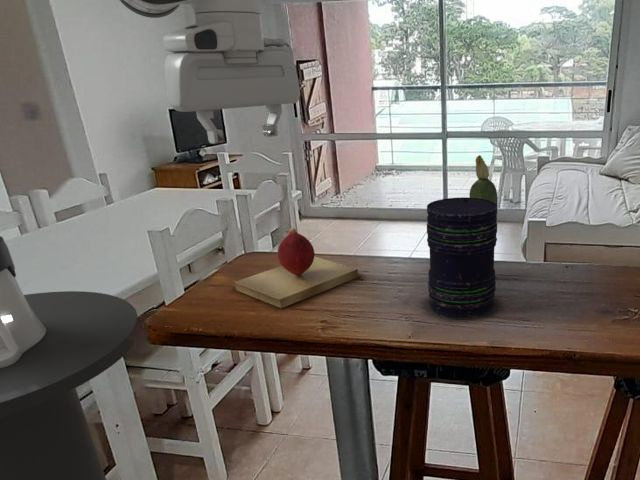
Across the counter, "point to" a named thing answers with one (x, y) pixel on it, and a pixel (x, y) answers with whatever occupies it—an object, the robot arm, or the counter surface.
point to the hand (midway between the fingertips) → (244, 139)
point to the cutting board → (295, 282)
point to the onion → (295, 253)
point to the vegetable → (483, 183)
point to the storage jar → (462, 257)
